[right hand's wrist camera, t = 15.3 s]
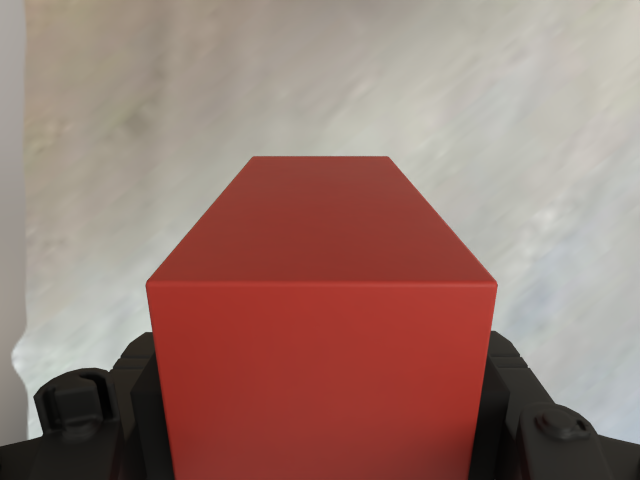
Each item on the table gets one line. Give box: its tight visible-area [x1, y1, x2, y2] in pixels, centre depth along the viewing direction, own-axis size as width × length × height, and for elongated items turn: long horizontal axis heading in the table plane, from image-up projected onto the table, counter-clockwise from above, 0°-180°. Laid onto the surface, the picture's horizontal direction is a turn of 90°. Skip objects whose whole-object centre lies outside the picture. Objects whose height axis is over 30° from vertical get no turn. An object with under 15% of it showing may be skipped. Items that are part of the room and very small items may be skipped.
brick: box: [146, 156, 497, 480], centre depth 14 cm, size 6×8×12 cm
